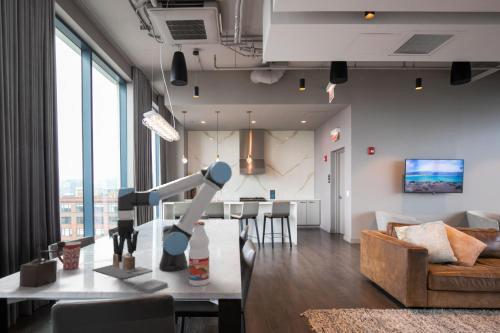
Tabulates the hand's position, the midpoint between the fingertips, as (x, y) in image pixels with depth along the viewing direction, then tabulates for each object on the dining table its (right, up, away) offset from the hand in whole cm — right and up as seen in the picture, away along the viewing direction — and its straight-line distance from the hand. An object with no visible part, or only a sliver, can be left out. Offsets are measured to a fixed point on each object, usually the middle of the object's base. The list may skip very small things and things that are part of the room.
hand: (125, 267), depth 142 cm
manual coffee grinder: (-38, -6, -3) cm, 38 cm away
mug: (-40, -7, +19) cm, 45 cm away
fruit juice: (+37, -5, -6) cm, 38 cm away
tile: (+13, -5, -9) cm, 16 cm away
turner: (+3, 0, -2) cm, 4 cm away
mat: (-9, -6, +12) cm, 16 cm away
